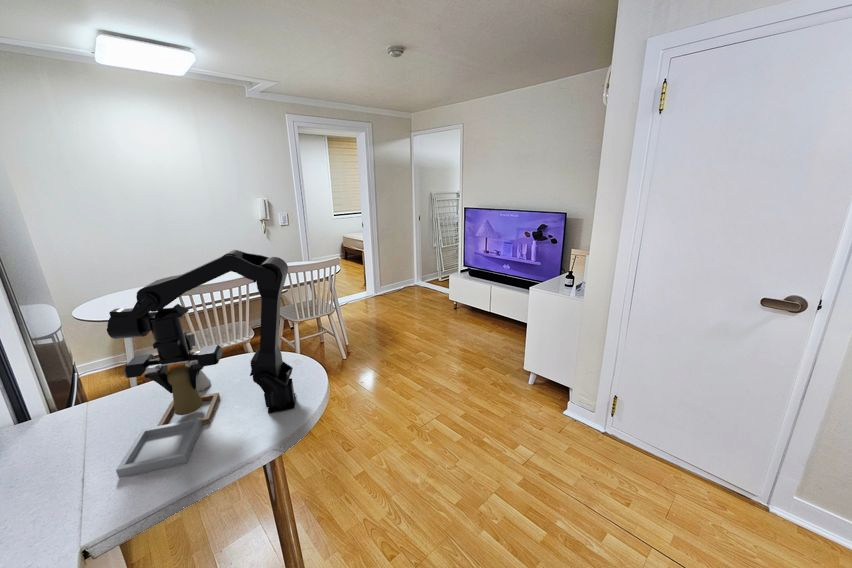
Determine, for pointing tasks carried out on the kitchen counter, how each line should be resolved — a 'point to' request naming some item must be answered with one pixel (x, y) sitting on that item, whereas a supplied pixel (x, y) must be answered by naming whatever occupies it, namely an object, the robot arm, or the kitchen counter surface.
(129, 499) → the kitchen counter surface
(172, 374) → the cork
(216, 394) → the wooden picture frame
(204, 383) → the flask
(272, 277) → the robot arm
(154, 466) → the tray
